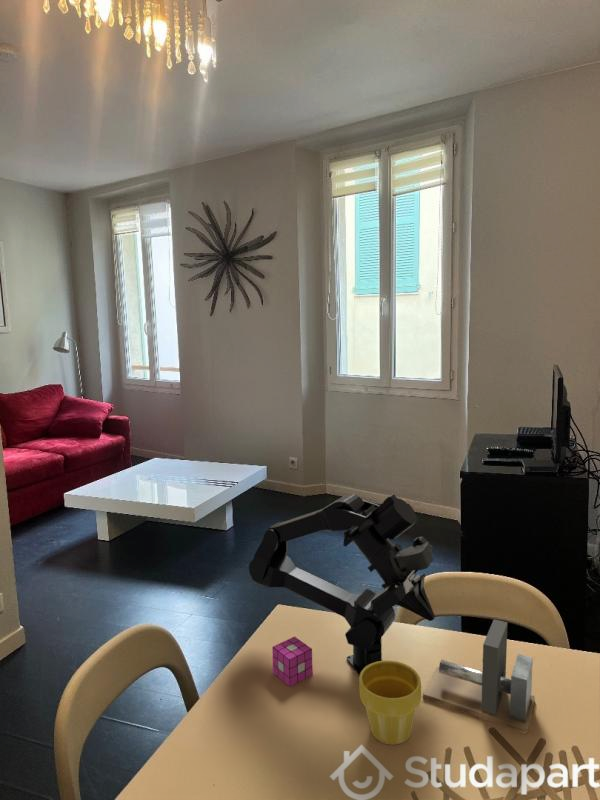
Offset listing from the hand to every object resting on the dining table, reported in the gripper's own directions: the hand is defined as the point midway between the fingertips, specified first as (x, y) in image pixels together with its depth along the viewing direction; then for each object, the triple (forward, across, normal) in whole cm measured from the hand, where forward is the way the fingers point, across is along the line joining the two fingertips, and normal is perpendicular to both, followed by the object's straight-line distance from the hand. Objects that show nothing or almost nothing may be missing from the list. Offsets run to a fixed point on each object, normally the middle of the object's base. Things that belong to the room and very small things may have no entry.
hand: (432, 619), depth 104 cm
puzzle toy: (-7, -11, +27) cm, 30 cm away
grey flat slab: (+17, 0, 0) cm, 17 cm away
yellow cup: (+8, -15, +11) cm, 20 cm away
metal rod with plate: (+16, 0, +2) cm, 16 cm away
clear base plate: (+16, 0, +3) cm, 16 cm away
